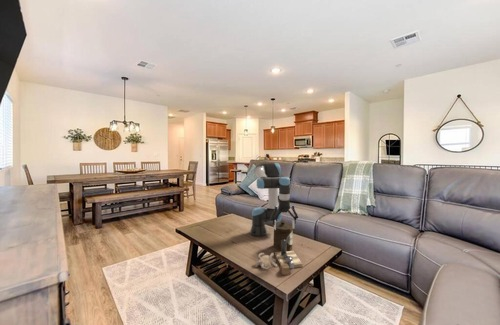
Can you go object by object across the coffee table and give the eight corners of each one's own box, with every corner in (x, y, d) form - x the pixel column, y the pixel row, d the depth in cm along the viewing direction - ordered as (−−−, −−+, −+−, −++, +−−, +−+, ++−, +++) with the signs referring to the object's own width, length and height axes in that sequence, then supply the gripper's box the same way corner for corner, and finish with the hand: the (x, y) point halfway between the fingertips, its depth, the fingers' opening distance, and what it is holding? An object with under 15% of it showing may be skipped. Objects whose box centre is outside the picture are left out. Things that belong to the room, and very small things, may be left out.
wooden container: (292, 253, 162) (292, 224, 160) (272, 251, 165) (272, 223, 163) (292, 244, 176) (292, 218, 174) (274, 242, 179) (274, 216, 177)
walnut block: (280, 270, 140) (280, 263, 139) (287, 270, 140) (287, 263, 140) (282, 274, 135) (282, 267, 135) (289, 274, 136) (289, 267, 135)
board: (275, 254, 159) (275, 251, 159) (293, 253, 161) (293, 250, 161) (283, 270, 140) (283, 266, 140) (303, 268, 142) (303, 264, 142)
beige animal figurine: (272, 263, 153) (268, 249, 155) (281, 264, 146) (278, 249, 148) (255, 271, 143) (252, 256, 145) (265, 273, 136) (261, 256, 138)
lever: (295, 268, 138) (295, 251, 137) (288, 268, 137) (288, 252, 136) (285, 253, 157) (286, 238, 156) (280, 253, 156) (280, 238, 156)
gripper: (268, 201, 146) (268, 231, 148) (303, 199, 150) (302, 229, 151) (265, 198, 153) (265, 227, 155) (299, 197, 157) (298, 225, 159)
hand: (284, 228), depth 153 cm, fingers open, 13 cm apart
